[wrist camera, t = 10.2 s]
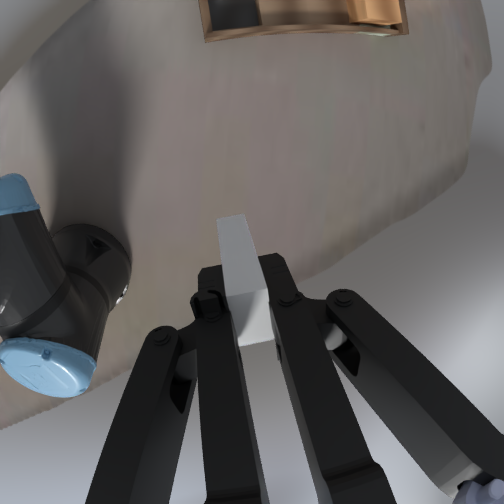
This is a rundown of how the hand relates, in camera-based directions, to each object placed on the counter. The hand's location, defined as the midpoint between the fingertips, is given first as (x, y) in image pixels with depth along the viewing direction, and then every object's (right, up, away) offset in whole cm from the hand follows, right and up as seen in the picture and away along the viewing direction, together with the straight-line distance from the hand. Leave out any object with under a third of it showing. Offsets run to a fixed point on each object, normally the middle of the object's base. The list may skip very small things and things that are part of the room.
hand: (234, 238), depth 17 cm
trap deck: (+7, +33, +13) cm, 36 cm away
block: (+16, +31, +12) cm, 37 cm away
